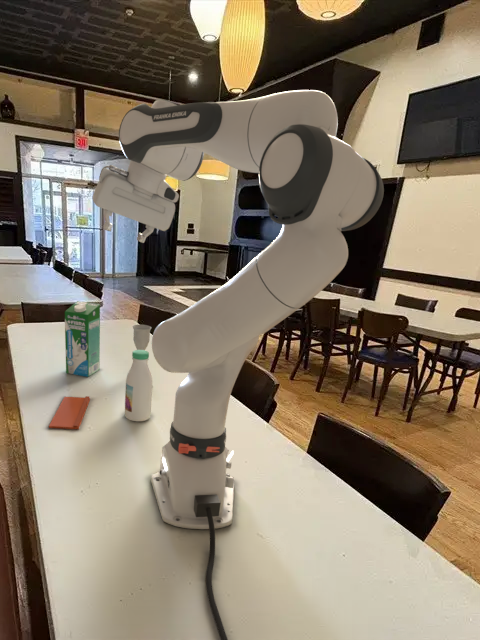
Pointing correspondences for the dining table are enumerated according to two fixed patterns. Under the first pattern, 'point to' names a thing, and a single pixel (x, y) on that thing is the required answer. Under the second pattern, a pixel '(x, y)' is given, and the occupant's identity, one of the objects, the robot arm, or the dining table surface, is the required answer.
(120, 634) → the dining table surface
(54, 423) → the roof tile
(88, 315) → the milk carton
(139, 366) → the milk bottle
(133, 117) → the robot arm
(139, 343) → the chalice
